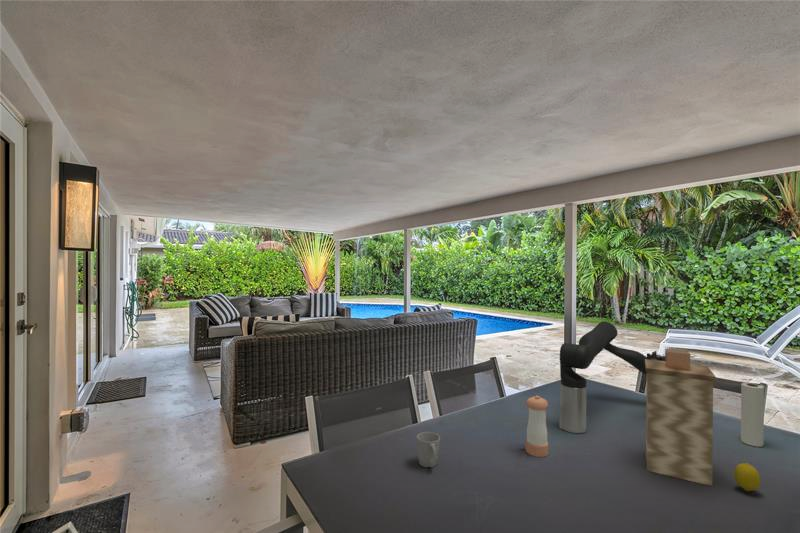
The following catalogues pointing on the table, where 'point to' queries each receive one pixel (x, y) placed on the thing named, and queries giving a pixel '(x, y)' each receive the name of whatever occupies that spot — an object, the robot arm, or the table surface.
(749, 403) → the paper towel roll
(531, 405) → the pepper shaker
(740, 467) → the lemon
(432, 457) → the cup
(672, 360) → the gray and brown block
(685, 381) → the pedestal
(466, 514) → the table surface
